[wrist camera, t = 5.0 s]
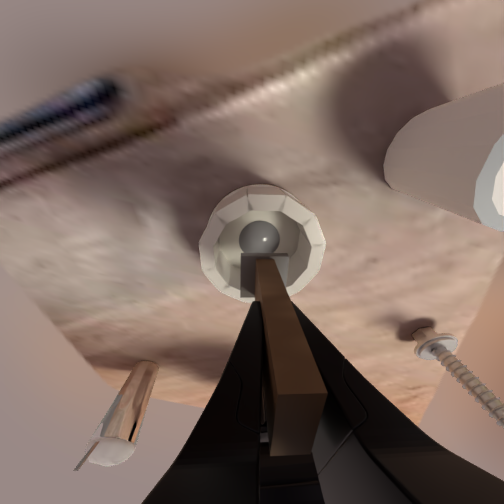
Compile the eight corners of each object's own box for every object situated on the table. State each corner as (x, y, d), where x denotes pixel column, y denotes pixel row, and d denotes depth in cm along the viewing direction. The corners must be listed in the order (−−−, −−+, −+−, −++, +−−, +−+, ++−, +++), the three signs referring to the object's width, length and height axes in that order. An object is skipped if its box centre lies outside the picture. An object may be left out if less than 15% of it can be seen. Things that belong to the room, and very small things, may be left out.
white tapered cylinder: (360, 195, 15) (443, 226, 9) (403, 87, 11) (587, 11, 5) (434, 204, 15) (561, 238, 9) (496, 103, 12) (756, 52, 6)
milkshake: (153, 351, 24) (100, 467, 15) (169, 372, 26) (132, 481, 18) (121, 356, 24) (50, 473, 15) (140, 377, 27) (89, 486, 18)
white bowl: (300, 277, 19) (311, 303, 15) (211, 277, 18) (205, 304, 15) (319, 185, 14) (340, 194, 11) (202, 182, 14) (190, 191, 11)
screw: (409, 348, 26) (398, 332, 24) (444, 333, 24) (436, 315, 22) (539, 501, 14) (537, 495, 13) (619, 489, 13) (632, 480, 11)
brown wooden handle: (287, 253, 12) (370, 386, 4) (283, 292, 13) (341, 455, 5) (240, 252, 12) (235, 390, 4) (240, 292, 13) (235, 461, 5)
